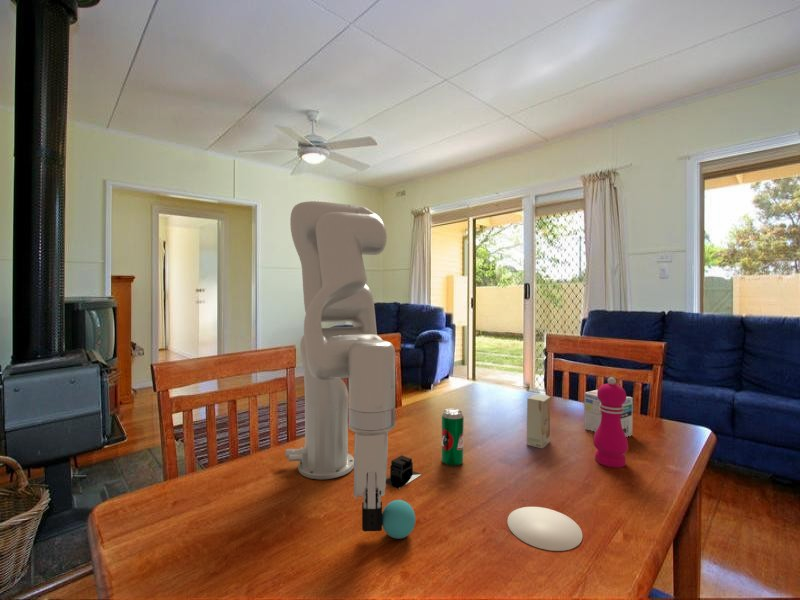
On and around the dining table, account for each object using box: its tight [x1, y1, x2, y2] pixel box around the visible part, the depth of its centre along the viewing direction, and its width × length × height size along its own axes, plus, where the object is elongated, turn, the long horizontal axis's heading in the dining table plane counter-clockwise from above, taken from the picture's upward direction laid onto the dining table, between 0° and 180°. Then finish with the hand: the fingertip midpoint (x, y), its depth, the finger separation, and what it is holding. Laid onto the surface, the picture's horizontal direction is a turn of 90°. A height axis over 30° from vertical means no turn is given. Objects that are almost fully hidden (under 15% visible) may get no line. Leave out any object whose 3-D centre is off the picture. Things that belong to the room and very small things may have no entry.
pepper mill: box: [592, 376, 629, 469], centre depth 93 cm, size 7×7×20 cm
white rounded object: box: [506, 506, 583, 552], centre depth 68 cm, size 12×12×1 cm
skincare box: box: [526, 393, 552, 449], centre depth 104 cm, size 6×4×12 cm
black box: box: [386, 455, 422, 490], centre depth 85 cm, size 12×7×5 cm, turn 141°
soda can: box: [441, 408, 465, 467], centre depth 92 cm, size 5×5×12 cm
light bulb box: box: [583, 389, 634, 438], centre depth 112 cm, size 11×7×11 cm, turn 34°
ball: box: [382, 499, 416, 540], centre depth 65 cm, size 6×6×6 cm
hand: (372, 528), depth 65 cm, fingers closed
